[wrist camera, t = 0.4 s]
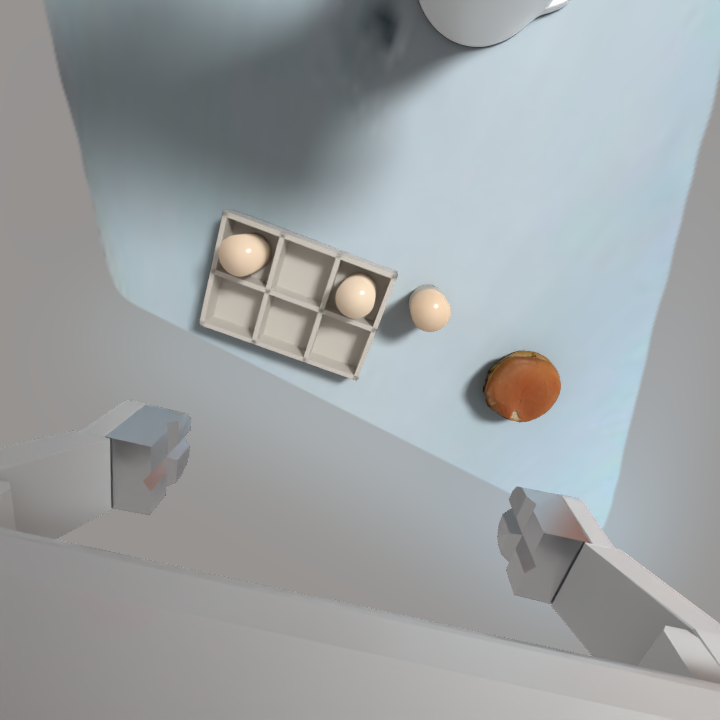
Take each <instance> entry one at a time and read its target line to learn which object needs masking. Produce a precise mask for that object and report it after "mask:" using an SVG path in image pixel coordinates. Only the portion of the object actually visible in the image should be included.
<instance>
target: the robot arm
mask: <svg viewBox="0 0 720 720" xmlns="http://www.w3.org/2000/svg"><path fill="white" fill-rule="evenodd" d="M569 1H570V0H419V2H420V5H421V7H422V9H423V11H424V13H425V15H426V17H427V18H428V20H429V21H430V22H431V24H432V25H433V26H434V27H435V28H436V29H437V30H438V31H439V32H440V33H441V34H442V35H443V36H445V37H446V38H448V39H450V40H451V41H454V42H456V43H458V44H461V45H465V46H472V47H483V46H490V45H494V44H497V43H500V42H502V41H504V40H507V39H508V38H510V37H512V36H514V35H515V34H517V33H518V32H519V31H521V30H522V29H523V28H524V27H525V26H527V25H528V24H529V23H530V22H531V21H533V20H534V19H535V18H537V17H538V16H540V15H543V14H547V13H550V12H553V11H556V10H558V9H560V8H562V7H564V6H565V5H567V4H568V3H569ZM190 430H191V417H190V416H189V414H187V413H183V412H179V411H174V410H170V409H166V408H162V407H158V406H154V405H148V404H145V403H141V402H136V401H132V400H125V401H123V402H122V403H120V404H119V405H117V406H116V407H115V408H113V409H112V410H110V411H109V412H107V413H106V414H105V415H103V416H102V417H100V418H99V419H97V420H96V421H95V422H93V423H92V424H90V425H89V426H88V427H86V428H84V429H83V430H82V431H80V432H78V431H73V430H72V431H68V432H64V433H60V434H56V435H51V436H47V437H43V438H39V439H35V440H30V441H26V442H22V443H18V444H14V445H9V446H6V447H2V448H0V720H720V624H719V623H718V622H717V621H715V620H714V619H713V618H711V617H710V616H708V615H707V614H706V613H704V612H703V611H702V610H701V609H699V608H698V607H697V606H695V605H694V604H693V603H691V602H690V601H688V600H687V599H686V598H684V597H683V596H682V595H680V594H679V593H678V592H676V591H675V590H674V589H672V588H671V587H670V586H668V585H667V584H665V583H664V582H663V581H662V580H660V579H659V578H658V577H656V576H655V575H654V574H652V573H651V572H650V571H648V570H647V569H646V568H644V567H643V566H642V565H640V564H639V563H638V562H636V561H635V560H634V559H632V558H631V557H630V556H628V555H627V554H625V553H624V552H623V551H621V550H617V549H615V548H614V547H613V545H612V544H611V542H610V541H609V539H608V538H607V536H606V535H605V533H604V532H603V530H602V529H601V527H600V526H599V524H598V523H597V521H596V520H595V518H594V517H593V515H592V514H591V512H590V511H589V509H588V508H587V506H586V505H585V503H584V502H583V501H582V500H580V499H579V498H575V497H570V496H564V495H559V494H552V493H547V492H542V491H537V490H532V489H527V488H522V487H516V488H515V489H514V490H513V491H512V494H511V496H510V498H509V501H510V504H511V507H512V509H510V510H508V511H507V512H505V513H504V514H503V515H502V518H501V520H500V523H499V527H498V536H497V537H498V546H499V549H500V552H501V554H502V556H504V558H505V559H506V560H507V561H508V562H509V564H508V566H507V569H506V571H507V574H508V577H509V580H510V583H511V586H512V589H513V592H514V595H517V596H520V597H524V598H529V599H533V600H537V601H541V602H545V603H549V604H552V605H551V606H552V607H553V608H554V610H555V611H556V612H557V614H558V615H559V616H560V617H561V618H562V620H563V621H564V622H565V623H566V625H567V626H568V627H569V628H570V629H571V631H572V632H573V633H574V634H575V635H576V637H577V638H578V639H579V640H580V641H581V643H582V644H583V645H584V646H585V648H586V649H587V650H588V651H589V652H590V653H591V655H592V656H593V657H592V656H587V655H583V654H578V653H574V652H569V651H565V650H560V649H555V648H551V647H546V646H542V645H537V644H533V643H528V642H523V641H519V640H514V639H510V638H505V637H500V636H496V635H491V634H487V633H482V632H478V631H473V630H469V629H464V628H459V627H455V626H450V625H446V624H441V623H437V622H432V621H428V620H422V619H418V618H414V617H409V616H405V615H400V614H395V613H391V612H386V611H381V610H377V609H372V608H368V607H363V606H358V605H353V604H349V603H344V602H340V601H335V600H330V599H326V598H322V597H317V596H312V595H307V594H303V593H298V592H294V591H289V590H284V589H280V588H275V587H270V586H266V585H261V584H257V583H252V582H248V581H243V580H239V579H234V578H229V577H225V576H220V575H216V574H211V573H207V572H202V571H197V570H193V569H188V568H183V567H179V566H174V565H170V564H165V563H160V562H156V561H152V560H147V559H142V558H138V557H133V556H129V555H124V554H119V553H115V552H110V551H106V550H101V549H97V548H92V547H87V546H83V545H78V544H73V543H69V542H64V541H60V540H55V539H57V538H59V537H61V536H63V535H65V534H67V533H68V532H70V531H72V530H74V529H76V528H78V527H80V526H82V525H84V524H86V523H88V522H90V521H92V520H93V519H95V518H97V517H99V516H101V515H103V514H105V513H107V512H109V511H111V508H114V509H119V510H124V511H129V512H135V513H140V514H145V515H150V514H151V513H152V512H153V511H154V509H155V508H156V507H157V506H158V504H159V503H160V502H161V501H162V499H163V498H164V497H165V496H166V487H167V486H169V485H172V484H174V483H176V482H177V481H178V479H179V478H180V477H181V475H182V473H183V471H184V469H185V467H186V465H187V462H188V457H189V451H190V445H189V443H188V442H187V440H186V438H185V436H186V435H187V434H188V433H189V431H190Z"/></svg>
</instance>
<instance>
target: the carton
mask: <svg viewBox="0 0 720 720" xmlns="http://www.w3.org/2000/svg"><path fill="white" fill-rule="evenodd" d="M246 233H259V234H261V235H263V236H264V237H265V238H266V239H267V240H268V241H269V242H270V244H271V247H272V259H271V261H270V263H269V264H268V265H267V266H266V267H264V268H262V269H260V270H258V271H256V272H253V273H251V274H249V275H247V276H242V277H239V276H234V275H232V274H230V273H228V272H227V271H226V270H225V269H224V268H223V267H222V265H221V263H220V260H219V256H218V251H219V247H220V245H221V243H222V241H223V240H224V239H226V238H227V237H229V236H233V235H239V234H246ZM354 272H363V273H366V274H368V275H369V276H371V277H372V278H373V280H374V282H375V284H376V288H377V292H376V297H375V303H374V306H373V309H372V310H371V312H370V313H369V314H367V315H366V316H364V317H362V318H357V319H353V318H349V317H347V316H345V315H343V314H342V313H341V312H340V311H339V309H338V307H337V305H336V301H335V297H336V292H337V290H338V288H339V287H340V285H341V284H342V282H343V281H344V279H345V278H346V277H347V276H348V275H350V274H351V273H354ZM397 276H398V273H397V271H395V270H392V269H390V268H387V267H384V266H382V265H379V264H376V263H374V262H371V261H368V260H366V259H363V258H360V257H358V256H355V255H352V254H350V253H347V252H344V251H342V250H339V249H336V248H334V247H331V246H328V245H326V244H323V243H320V242H318V241H315V240H312V239H310V238H307V237H304V236H302V235H299V234H296V233H294V232H291V231H288V230H286V229H283V228H280V227H278V226H275V225H272V224H269V223H267V222H264V221H261V220H259V219H256V218H253V217H251V216H248V215H245V214H243V213H240V212H237V211H235V210H223V214H222V219H221V224H220V228H219V233H218V238H217V242H216V247H215V252H214V256H213V261H212V266H211V270H210V275H209V280H208V284H207V289H206V294H205V298H204V303H203V308H202V312H201V317H200V322H199V325H201V326H204V327H207V328H210V329H213V330H215V331H218V332H221V333H224V334H227V335H229V336H232V337H235V338H238V339H241V340H243V341H246V342H249V343H252V344H255V345H257V346H260V347H263V348H266V349H269V350H271V351H274V352H277V353H280V354H283V355H285V356H288V357H291V358H294V359H297V360H299V361H302V362H305V363H308V364H311V365H313V366H316V367H319V368H322V369H325V370H327V371H330V372H333V373H336V374H339V375H341V376H344V377H347V378H350V379H353V380H356V381H357V380H358V377H359V374H360V372H361V369H362V367H363V364H364V362H365V359H366V356H367V354H368V351H369V349H370V346H371V343H372V341H373V338H374V336H375V333H376V331H377V328H378V325H379V323H380V320H381V318H382V315H383V313H384V310H385V307H386V305H387V302H388V300H389V297H390V294H391V292H392V289H393V287H394V284H395V282H396V279H397Z"/></svg>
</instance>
